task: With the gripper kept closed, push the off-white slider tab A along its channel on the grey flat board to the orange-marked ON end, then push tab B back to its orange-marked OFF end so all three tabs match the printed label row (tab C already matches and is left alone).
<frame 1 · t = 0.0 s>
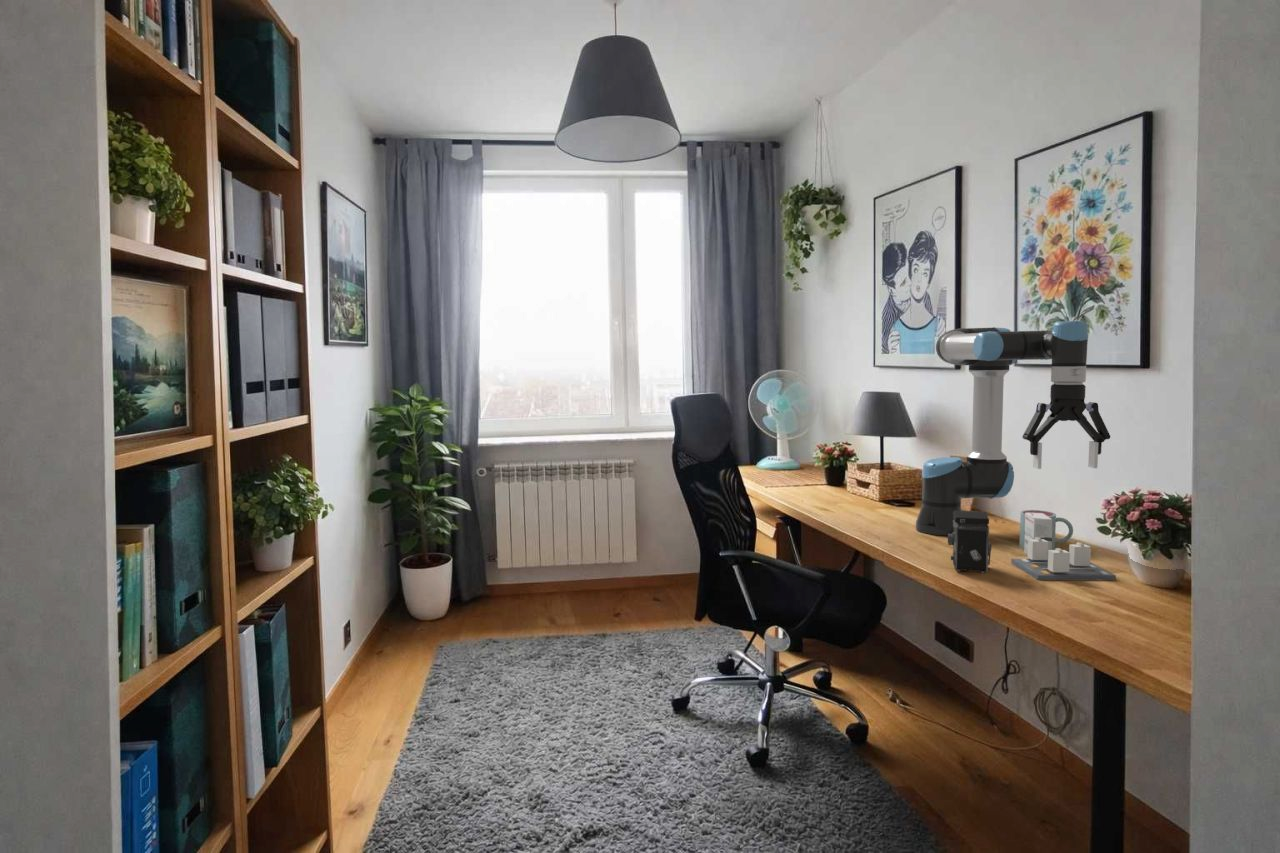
hand: (1064, 467, 185), 28 cm above the table, fingers open, 13 cm apart
mug: (1045, 548, 215), on the table
camera: (968, 568, 197), on the table
grey flat board: (1061, 571, 192), on the table
tab A: (1037, 548, 197), point 5 cm above the table, slide at 0.0 cm
ink box: (1037, 557, 206), on the table
tab C: (1058, 559, 187), point 5 cm above the table, slide at 0.0 cm
tab B: (1079, 553, 191), point 5 cm above the table, slide at 8.0 cm
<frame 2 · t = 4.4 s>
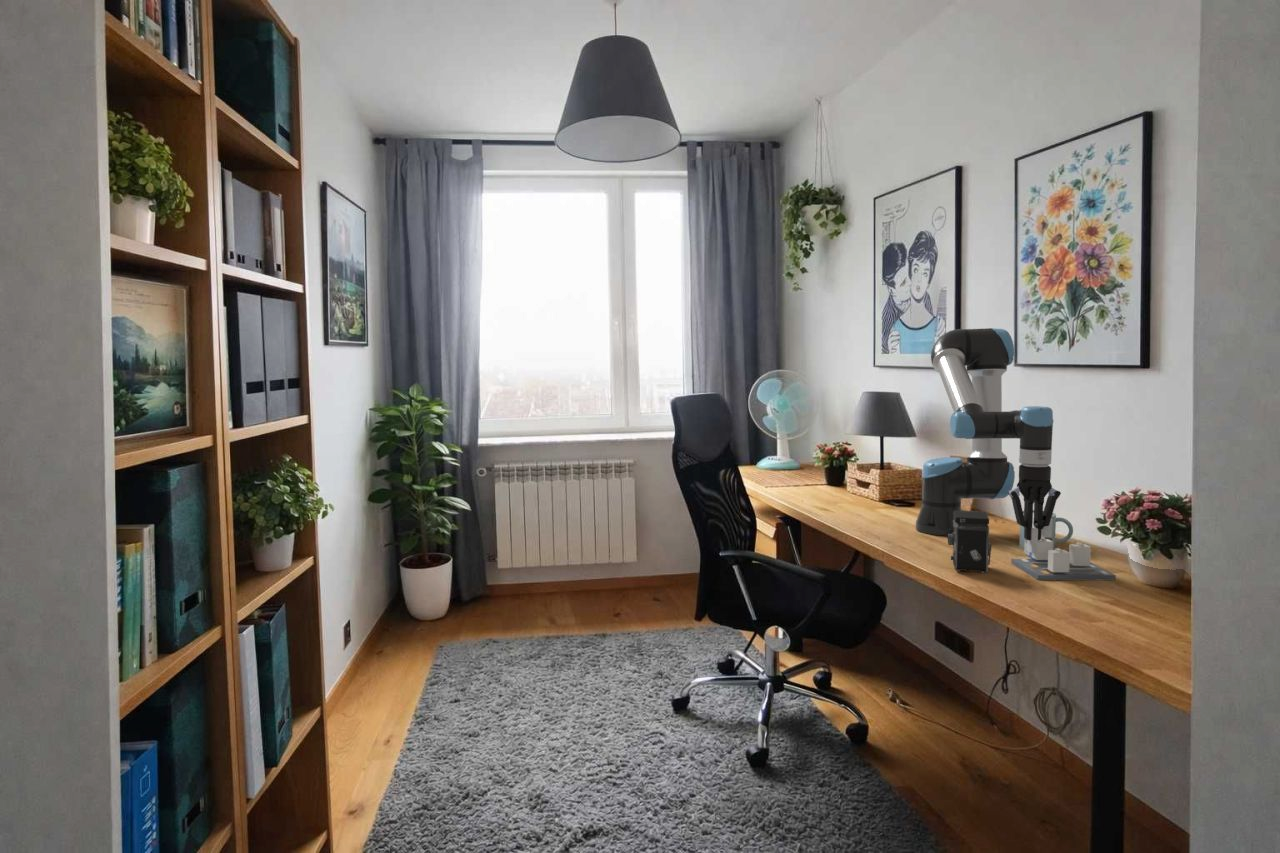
hand: (1032, 551, 198), 4 cm above the table, fingers closed
tab A: (1042, 548, 197), point 5 cm above the table, slide at 1.2 cm, touching gripper
everything else where it was.
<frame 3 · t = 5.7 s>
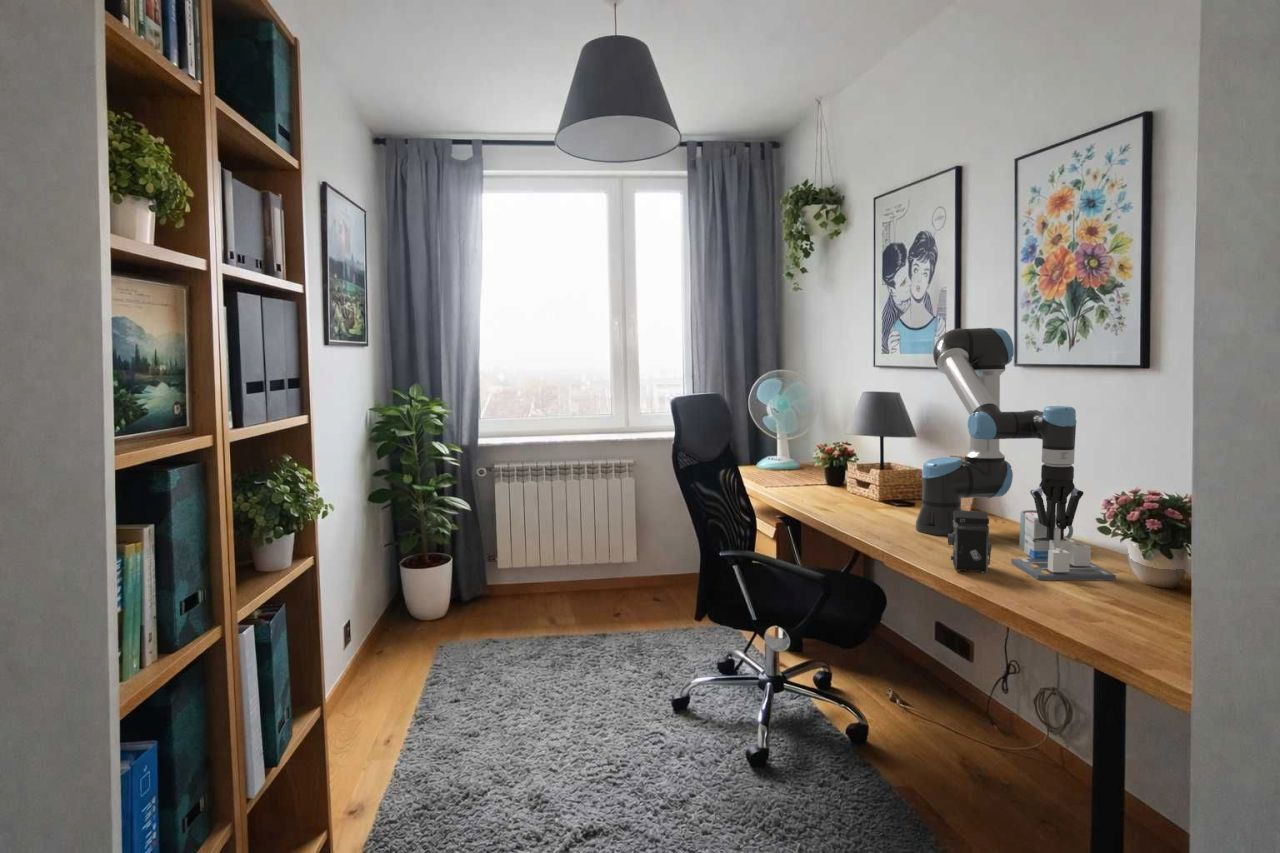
hand: (1054, 551, 197), 4 cm above the table, fingers closed
tab A: (1065, 548, 197), point 5 cm above the table, slide at 7.1 cm, touching gripper
everything else where it was.
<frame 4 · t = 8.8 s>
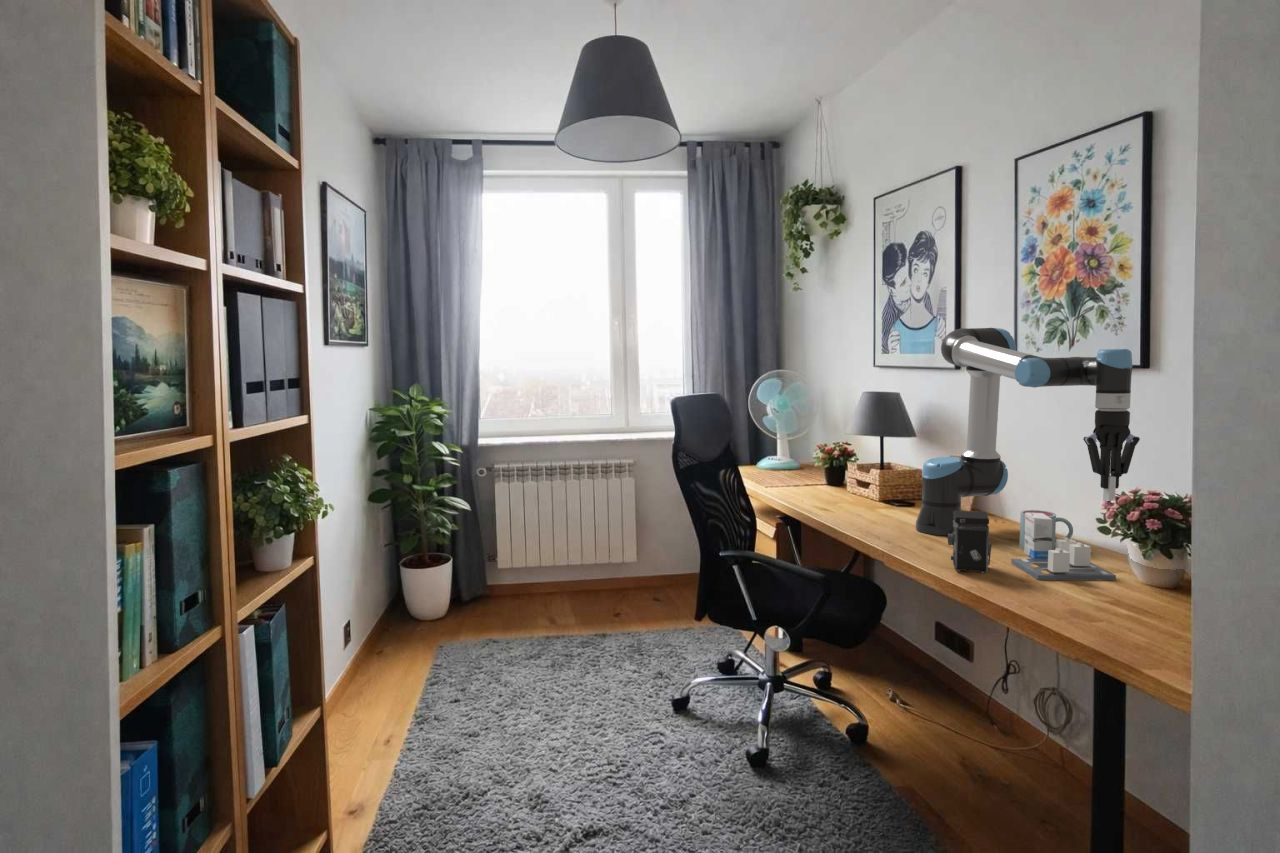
hand: (1108, 500, 190), 19 cm above the table, fingers closed
tab A: (1065, 548, 197), point 5 cm above the table, slide at 7.2 cm
everything else where it was.
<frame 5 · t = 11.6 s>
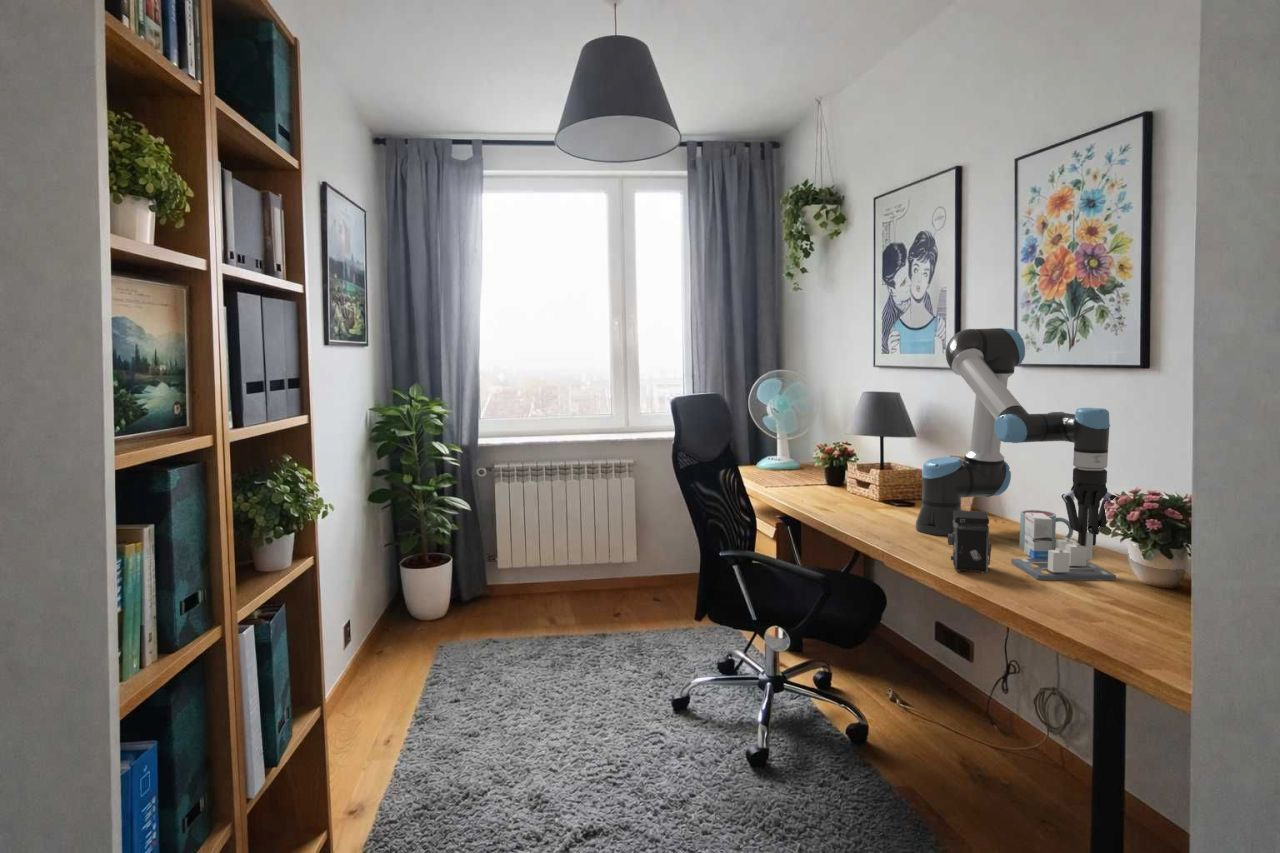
hand: (1086, 557, 192), 4 cm above the table, fingers closed
tab B: (1075, 553, 192), point 5 cm above the table, slide at 7.0 cm, touching gripper
everything else where it was.
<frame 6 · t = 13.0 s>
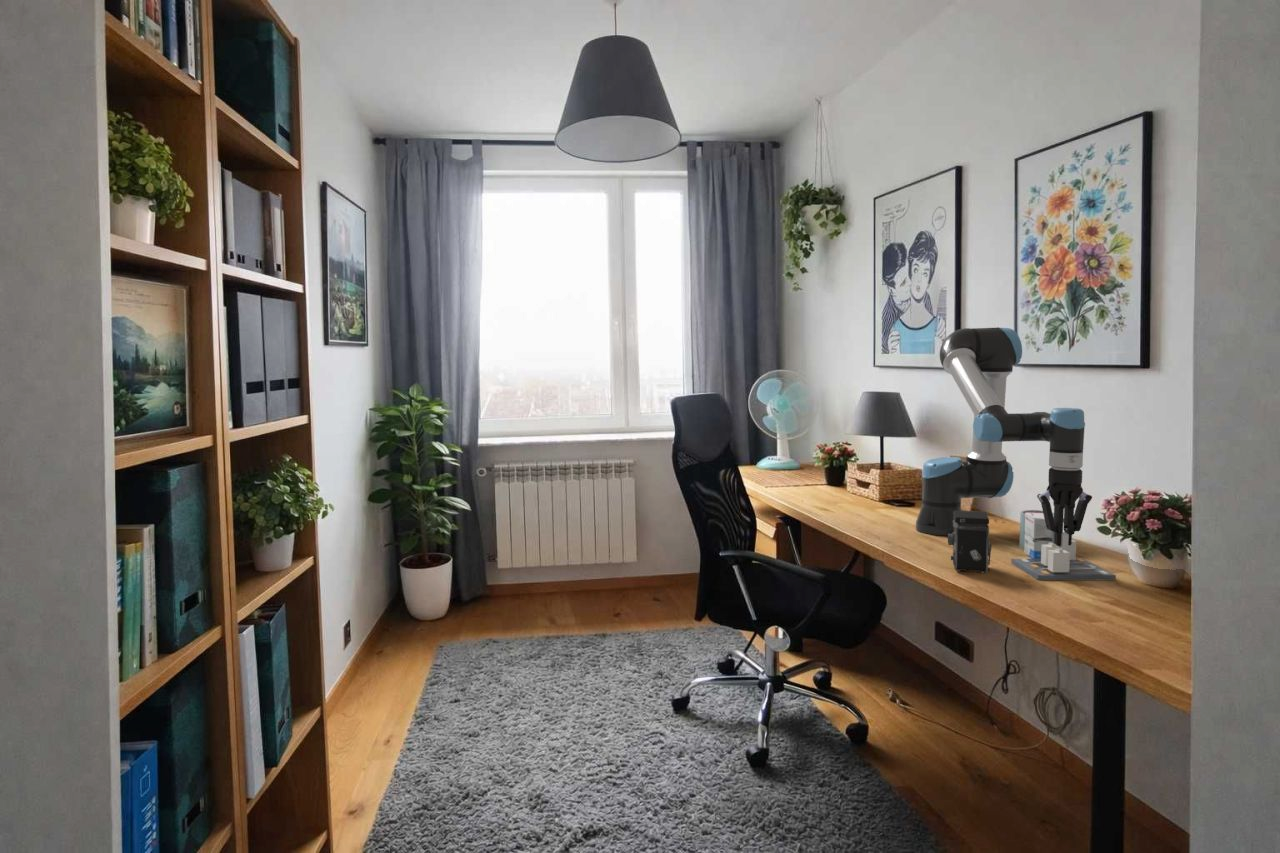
hand: (1062, 557, 192), 4 cm above the table, fingers closed
tab B: (1051, 553, 192), point 5 cm above the table, slide at 0.9 cm, touching gripper
everything else where it was.
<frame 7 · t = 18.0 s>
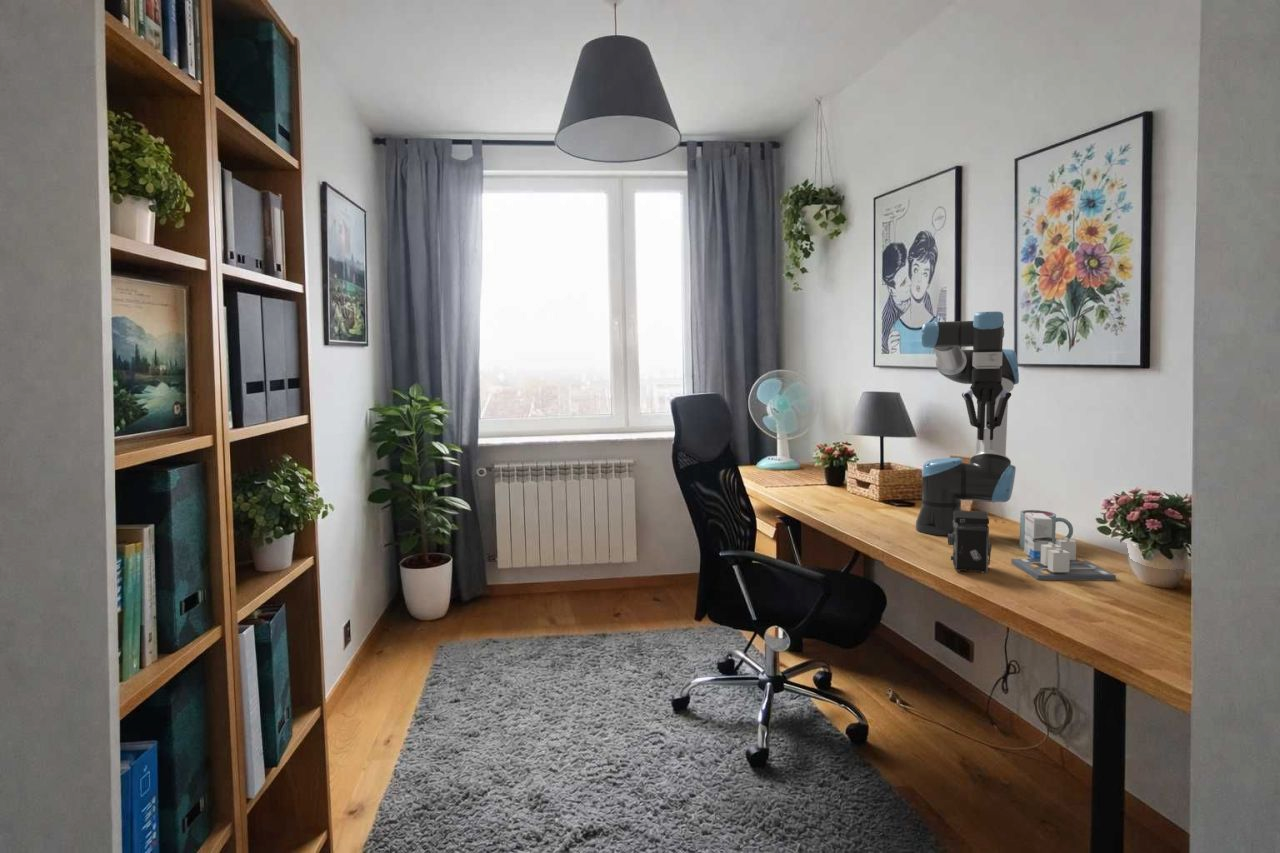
hand: (984, 451, 207), 29 cm above the table, fingers closed
tab B: (1051, 553, 192), point 5 cm above the table, slide at 0.8 cm
everything else where it was.
at the end: tab A slide at 7.2 cm; tab B slide at 0.8 cm; tab C slide at 0.0 cm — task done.
